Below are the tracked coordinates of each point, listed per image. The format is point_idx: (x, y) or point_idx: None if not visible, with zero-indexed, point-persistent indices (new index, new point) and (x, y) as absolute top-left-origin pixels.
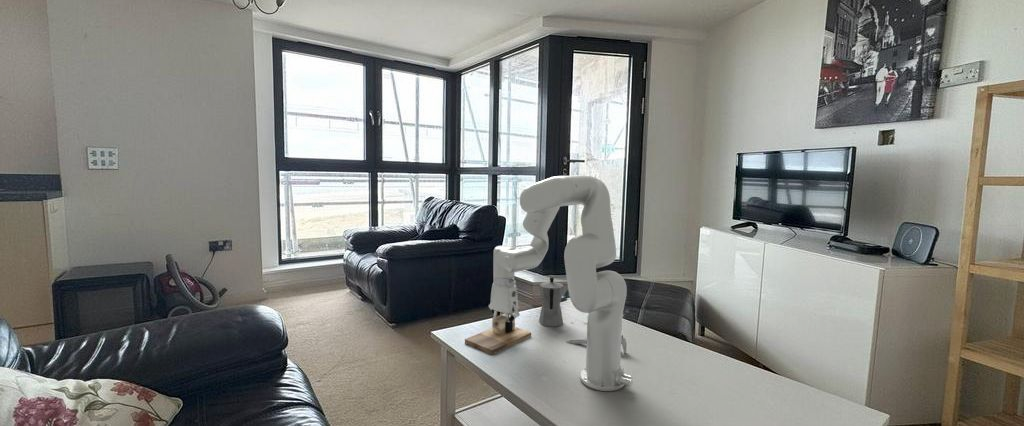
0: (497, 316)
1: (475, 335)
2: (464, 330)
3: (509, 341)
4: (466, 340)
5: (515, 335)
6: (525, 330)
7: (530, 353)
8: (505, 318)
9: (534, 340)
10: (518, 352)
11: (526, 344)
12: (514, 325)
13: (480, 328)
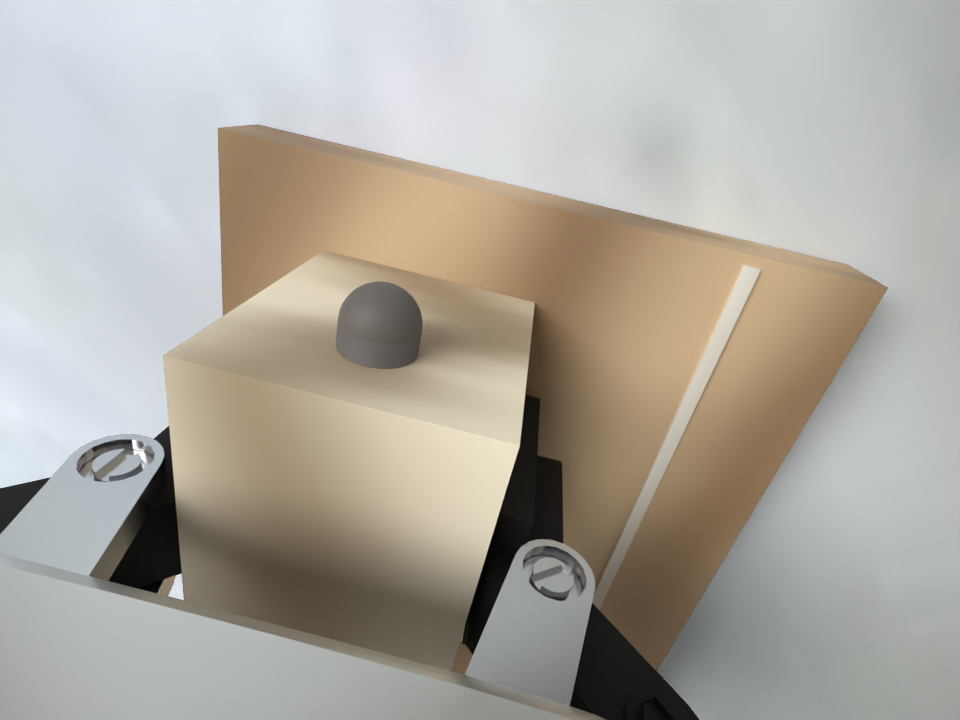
0: (196, 601)
1: None
2: (5, 469)
3: (651, 644)
4: None
5: (652, 494)
6: (748, 265)
7: (936, 664)
8: (408, 639)
9: (932, 369)
10: (794, 677)
11: (835, 513)
12: (529, 337)
13: (61, 348)
